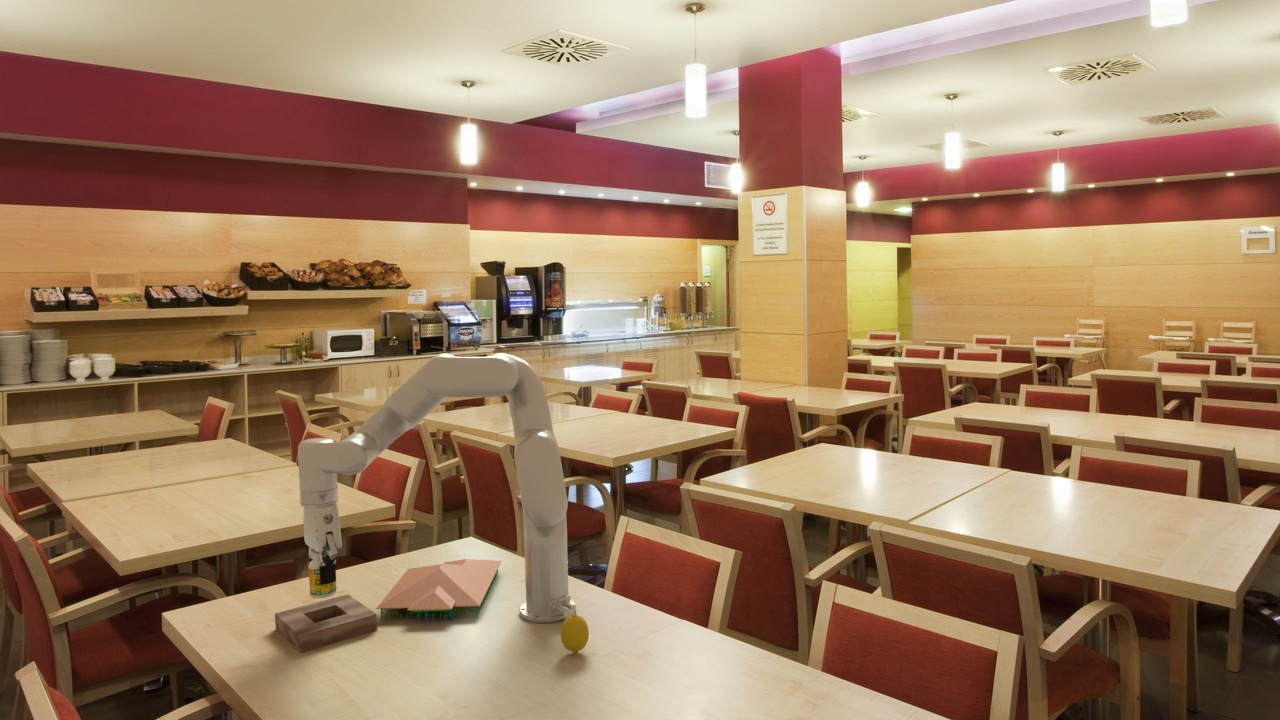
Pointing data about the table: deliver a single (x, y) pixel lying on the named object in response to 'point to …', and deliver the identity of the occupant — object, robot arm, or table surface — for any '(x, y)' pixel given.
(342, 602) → the holder
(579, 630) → the lemon
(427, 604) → the house
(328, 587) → the supplement bottle
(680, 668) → the table surface
